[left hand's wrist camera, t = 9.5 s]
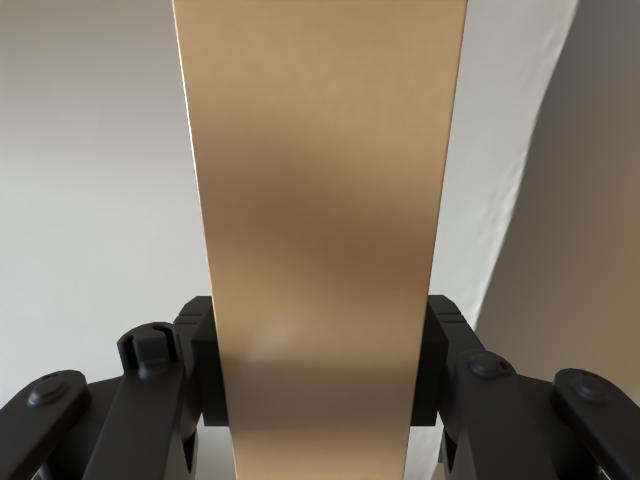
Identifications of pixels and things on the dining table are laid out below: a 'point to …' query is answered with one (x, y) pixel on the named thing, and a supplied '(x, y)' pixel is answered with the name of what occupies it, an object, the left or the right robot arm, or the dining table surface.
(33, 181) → the dining table surface
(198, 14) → the bar
